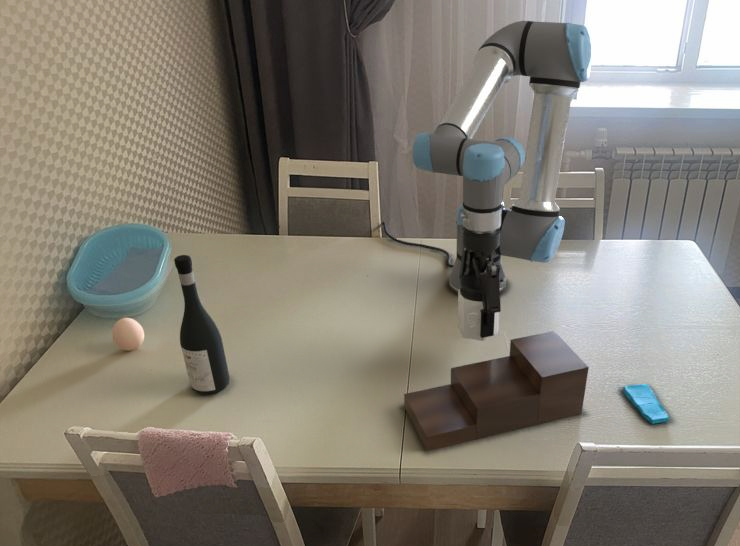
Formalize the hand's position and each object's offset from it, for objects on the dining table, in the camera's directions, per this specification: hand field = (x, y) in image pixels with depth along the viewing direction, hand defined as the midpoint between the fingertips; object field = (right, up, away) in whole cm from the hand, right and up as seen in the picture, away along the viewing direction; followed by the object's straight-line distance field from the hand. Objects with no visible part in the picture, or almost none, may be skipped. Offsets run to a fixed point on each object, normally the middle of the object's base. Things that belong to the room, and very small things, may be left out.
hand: (478, 324), depth 146 cm
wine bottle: (-57, -13, -1) cm, 58 cm away
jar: (0, -1, +1) cm, 2 cm away
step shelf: (+2, -18, -8) cm, 20 cm away
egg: (-79, -5, +11) cm, 80 cm away
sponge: (+34, -17, -6) cm, 38 cm away
